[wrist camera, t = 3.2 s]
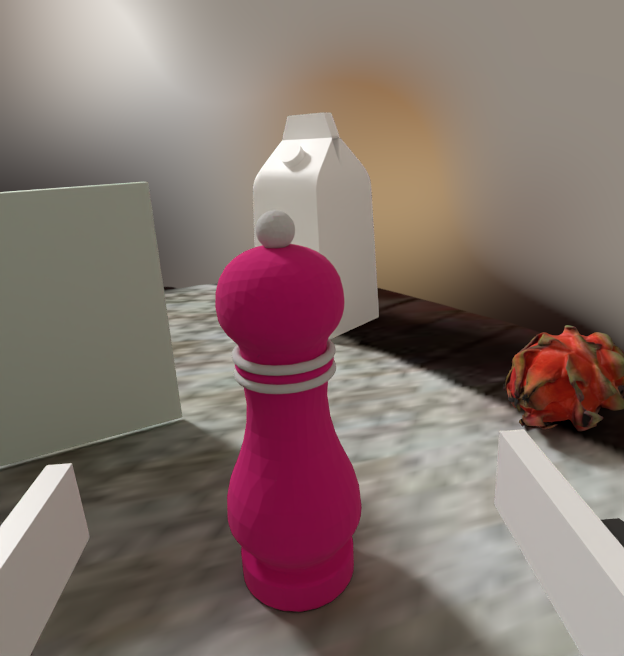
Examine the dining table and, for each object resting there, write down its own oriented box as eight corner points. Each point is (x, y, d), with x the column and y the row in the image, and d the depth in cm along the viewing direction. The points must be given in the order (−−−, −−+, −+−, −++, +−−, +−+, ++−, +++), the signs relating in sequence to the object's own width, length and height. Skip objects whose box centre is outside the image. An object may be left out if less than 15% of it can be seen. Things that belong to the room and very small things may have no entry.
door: (182, 417, 46) (148, 182, 39) (-94, 491, 37) (-198, 207, 31) (175, 405, 48) (141, 180, 41) (-87, 473, 40) (-183, 204, 33)
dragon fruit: (613, 417, 47) (521, 479, 42) (546, 344, 50) (454, 394, 45) (682, 368, 40) (582, 436, 35) (599, 289, 43) (498, 340, 38)
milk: (378, 317, 71) (378, 111, 62) (324, 342, 63) (314, 110, 54) (313, 302, 79) (304, 117, 70) (257, 323, 71) (239, 117, 62)
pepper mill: (287, 509, 34) (263, 199, 28) (385, 551, 30) (385, 202, 24) (208, 582, 29) (154, 218, 22) (315, 646, 25) (289, 226, 18)
